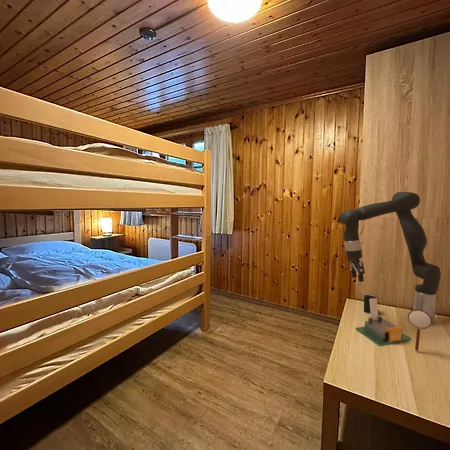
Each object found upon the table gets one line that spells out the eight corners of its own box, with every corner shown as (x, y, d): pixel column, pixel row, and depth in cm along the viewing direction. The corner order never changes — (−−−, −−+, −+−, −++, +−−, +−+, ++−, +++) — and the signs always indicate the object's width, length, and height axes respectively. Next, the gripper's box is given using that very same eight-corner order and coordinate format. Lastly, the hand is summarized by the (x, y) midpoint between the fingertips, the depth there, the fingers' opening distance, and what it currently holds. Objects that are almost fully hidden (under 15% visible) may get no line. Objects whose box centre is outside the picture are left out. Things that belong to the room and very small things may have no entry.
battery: (377, 313, 152) (378, 295, 150) (376, 315, 149) (377, 297, 148) (364, 309, 156) (365, 292, 155) (362, 311, 154) (364, 293, 152)
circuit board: (385, 324, 138) (386, 311, 137) (411, 340, 124) (412, 325, 123) (355, 329, 134) (356, 316, 133) (379, 346, 119) (380, 330, 118)
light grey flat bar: (378, 319, 134) (377, 319, 134) (376, 298, 134) (375, 298, 135) (372, 320, 133) (371, 320, 133) (370, 299, 133) (369, 298, 134)
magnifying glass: (428, 354, 113) (433, 312, 110) (428, 356, 112) (432, 313, 109) (405, 347, 118) (408, 306, 116) (404, 348, 117) (408, 307, 115)
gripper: (366, 249, 125) (371, 282, 125) (354, 246, 139) (359, 275, 139) (350, 252, 125) (356, 284, 126) (340, 248, 140) (345, 277, 140)
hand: (357, 279), depth 132 cm, fingers open, 8 cm apart
